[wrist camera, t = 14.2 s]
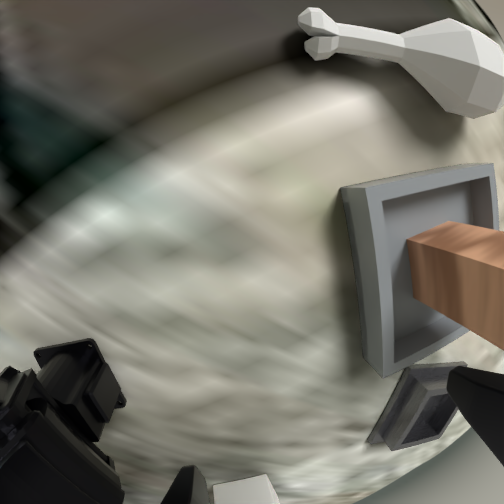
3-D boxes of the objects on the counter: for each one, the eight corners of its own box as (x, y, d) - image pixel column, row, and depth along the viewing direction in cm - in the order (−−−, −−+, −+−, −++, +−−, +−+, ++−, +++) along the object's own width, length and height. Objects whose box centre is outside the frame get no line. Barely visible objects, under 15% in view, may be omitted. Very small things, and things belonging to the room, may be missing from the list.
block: (413, 297, 21) (525, 364, 9) (406, 239, 20) (540, 282, 8) (453, 275, 21) (559, 322, 10) (448, 220, 20) (569, 248, 9)
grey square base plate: (367, 439, 25) (379, 458, 22) (406, 364, 24) (426, 382, 21) (427, 427, 27) (440, 442, 24) (463, 361, 26) (481, 374, 22)
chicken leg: (292, -3, 17) (304, -34, 10) (473, 40, 16) (530, 45, 9) (293, 86, 22) (305, 93, 15) (469, 115, 21) (523, 140, 14)
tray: (363, 356, 23) (382, 378, 19) (340, 187, 19) (365, 187, 16) (472, 301, 24) (495, 313, 21) (465, 163, 21) (493, 163, 17)
